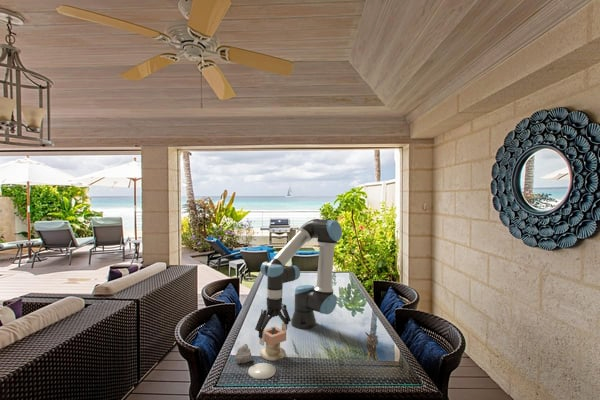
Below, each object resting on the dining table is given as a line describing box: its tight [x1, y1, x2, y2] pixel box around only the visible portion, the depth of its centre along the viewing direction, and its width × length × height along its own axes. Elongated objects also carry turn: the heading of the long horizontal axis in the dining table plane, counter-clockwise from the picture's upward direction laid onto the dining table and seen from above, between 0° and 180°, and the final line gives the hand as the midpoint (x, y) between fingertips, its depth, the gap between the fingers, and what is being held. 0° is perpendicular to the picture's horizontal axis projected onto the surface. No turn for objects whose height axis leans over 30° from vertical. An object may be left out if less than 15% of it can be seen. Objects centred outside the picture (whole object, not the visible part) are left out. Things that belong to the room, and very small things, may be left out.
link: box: [263, 326, 287, 346], centre depth 156 cm, size 9×9×4 cm
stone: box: [234, 343, 253, 365], centre depth 150 cm, size 8×10×6 cm
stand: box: [259, 326, 286, 362], centre depth 156 cm, size 12×12×13 cm
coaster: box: [247, 362, 276, 380], centre depth 140 cm, size 12×12×1 cm
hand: (273, 340), depth 156 cm, fingers open, 13 cm apart
